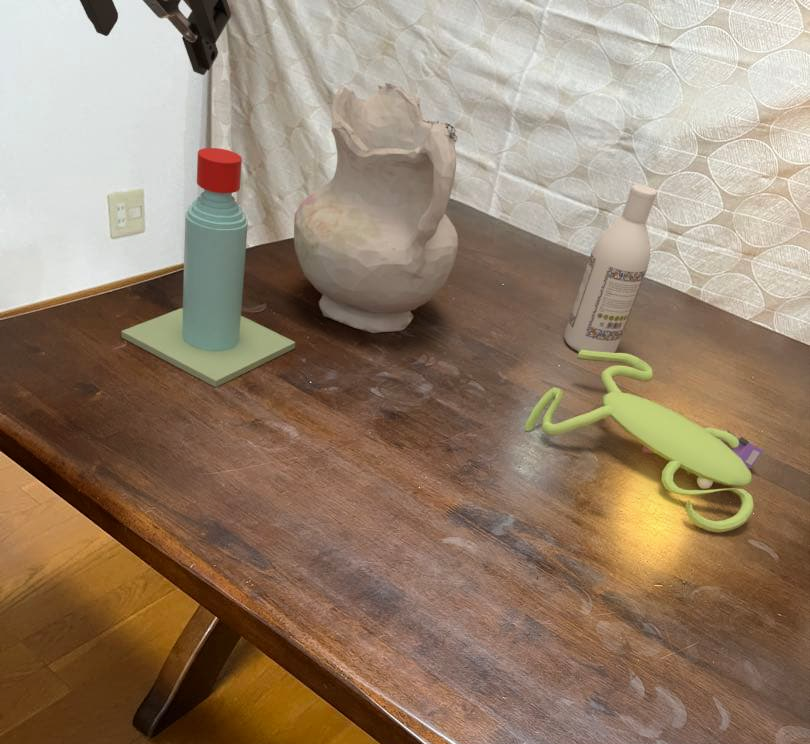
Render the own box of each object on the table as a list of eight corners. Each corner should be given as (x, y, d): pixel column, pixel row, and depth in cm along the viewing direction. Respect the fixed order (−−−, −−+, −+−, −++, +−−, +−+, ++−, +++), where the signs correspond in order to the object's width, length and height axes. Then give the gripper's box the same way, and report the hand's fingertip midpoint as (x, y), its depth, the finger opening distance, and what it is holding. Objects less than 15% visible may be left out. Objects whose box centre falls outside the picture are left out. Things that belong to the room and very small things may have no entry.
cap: (187, 182, 82) (188, 151, 80) (216, 175, 85) (218, 145, 83) (220, 196, 81) (222, 165, 79) (248, 189, 84) (250, 159, 82)
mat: (121, 337, 91) (121, 330, 90) (206, 304, 100) (206, 298, 100) (215, 387, 87) (216, 380, 86) (295, 348, 96) (295, 342, 96)
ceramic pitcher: (479, 349, 107) (546, 139, 93) (362, 370, 94) (420, 129, 80) (368, 277, 118) (412, 78, 103) (249, 287, 105) (282, 61, 91)
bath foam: (625, 354, 111) (686, 198, 99) (591, 363, 107) (649, 202, 95) (586, 329, 115) (640, 176, 103) (552, 337, 111) (603, 179, 99)
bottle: (169, 334, 92) (173, 153, 80) (208, 319, 96) (216, 145, 84) (213, 357, 90) (222, 175, 78) (250, 339, 94) (265, 165, 82)
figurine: (586, 373, 105) (601, 331, 102) (790, 481, 94) (815, 439, 90) (500, 417, 93) (514, 372, 89) (722, 548, 82) (748, 502, 78)
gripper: (211, -171, 51) (260, 40, 67) (4, -248, 52) (100, -24, 68) (151, -74, 50) (215, 117, 66) (-60, -156, 51) (53, 51, 67)
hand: (156, 45), depth 67 cm, fingers open, 8 cm apart
